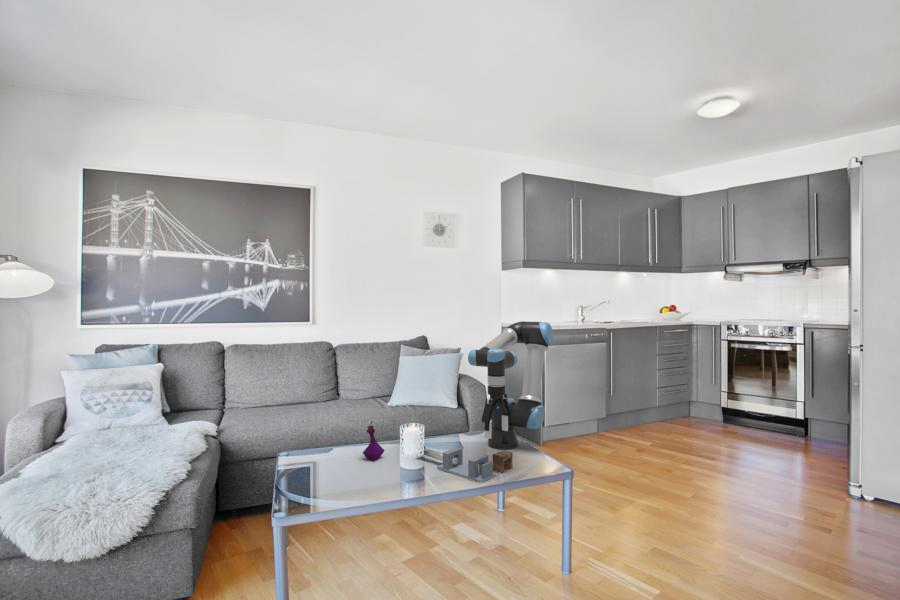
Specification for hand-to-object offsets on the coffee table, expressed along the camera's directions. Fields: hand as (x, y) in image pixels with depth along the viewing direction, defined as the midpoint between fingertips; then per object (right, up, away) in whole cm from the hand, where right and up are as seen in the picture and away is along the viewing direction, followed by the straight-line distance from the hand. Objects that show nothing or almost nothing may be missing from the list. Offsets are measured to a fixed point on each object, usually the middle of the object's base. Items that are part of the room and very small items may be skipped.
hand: (496, 434), depth 203 cm
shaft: (-26, -15, +10) cm, 31 cm away
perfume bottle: (-56, -16, +17) cm, 61 cm away
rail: (-13, -16, -2) cm, 21 cm away
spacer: (+3, -16, +1) cm, 16 cm away
